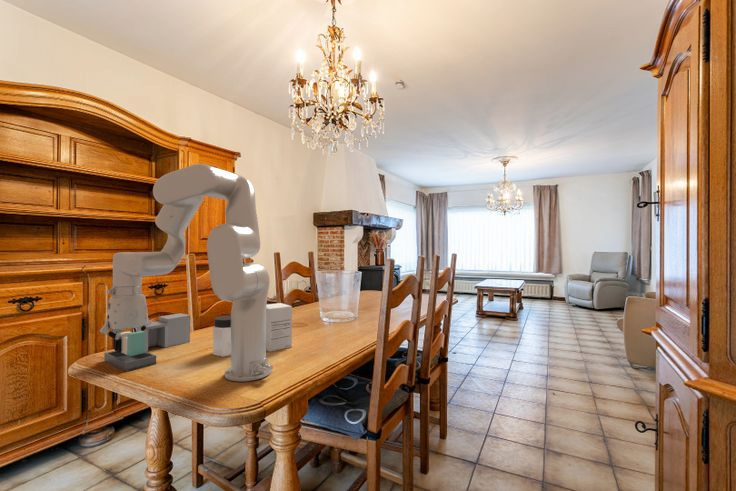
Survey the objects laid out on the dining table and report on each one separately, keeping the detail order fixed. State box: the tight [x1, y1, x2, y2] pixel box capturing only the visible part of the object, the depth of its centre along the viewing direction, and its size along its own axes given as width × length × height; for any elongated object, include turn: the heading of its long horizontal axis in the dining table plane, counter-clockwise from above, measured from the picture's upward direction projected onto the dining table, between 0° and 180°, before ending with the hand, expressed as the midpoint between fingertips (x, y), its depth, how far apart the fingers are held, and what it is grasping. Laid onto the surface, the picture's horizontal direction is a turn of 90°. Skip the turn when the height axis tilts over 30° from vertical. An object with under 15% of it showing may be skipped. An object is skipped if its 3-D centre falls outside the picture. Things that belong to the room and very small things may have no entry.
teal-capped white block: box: [120, 330, 145, 356], centre depth 107 cm, size 11×4×6 cm, turn 56°
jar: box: [212, 314, 231, 358], centre depth 117 cm, size 9×8×12 cm
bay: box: [144, 312, 191, 353], centre depth 125 cm, size 7×16×10 cm, turn 146°
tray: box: [103, 350, 157, 372], centre depth 107 cm, size 16×8×2 cm, turn 56°
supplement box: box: [266, 302, 293, 352], centre depth 124 cm, size 9×9×15 cm
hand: (126, 349), depth 108 cm, fingers closed on teal-capped white block, 4 cm apart
